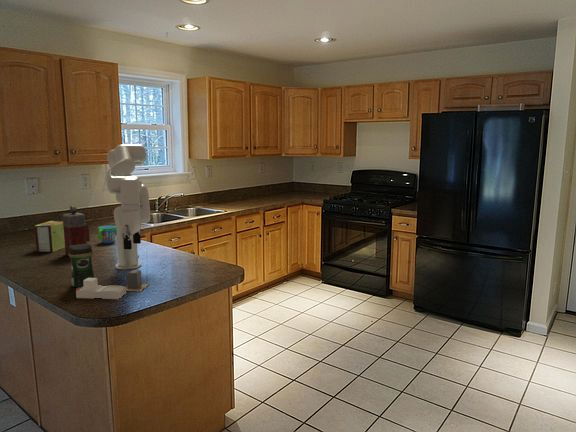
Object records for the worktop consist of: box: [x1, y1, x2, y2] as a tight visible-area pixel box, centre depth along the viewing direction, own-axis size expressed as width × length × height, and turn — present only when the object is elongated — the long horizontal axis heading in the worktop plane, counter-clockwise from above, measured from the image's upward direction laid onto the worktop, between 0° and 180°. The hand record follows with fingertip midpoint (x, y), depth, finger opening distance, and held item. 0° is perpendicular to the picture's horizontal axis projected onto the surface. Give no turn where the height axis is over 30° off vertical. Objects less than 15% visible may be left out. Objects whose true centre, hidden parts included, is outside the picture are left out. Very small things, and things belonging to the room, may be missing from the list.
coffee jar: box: [68, 243, 96, 288], centre depth 196 cm, size 10×8×19 cm
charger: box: [126, 269, 143, 289], centre depth 193 cm, size 4×4×7 cm
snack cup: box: [97, 225, 117, 244], centre depth 278 cm, size 16×10×10 cm
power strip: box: [75, 277, 127, 300], centre depth 183 cm, size 18×7×7 cm, turn 86°
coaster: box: [124, 283, 149, 292], centre depth 193 cm, size 9×9×1 cm
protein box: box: [33, 220, 65, 253], centre depth 261 cm, size 10×15×16 cm
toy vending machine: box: [62, 205, 91, 257], centre depth 247 cm, size 9×11×28 cm
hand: (132, 246), depth 190 cm, fingers open, 9 cm apart
